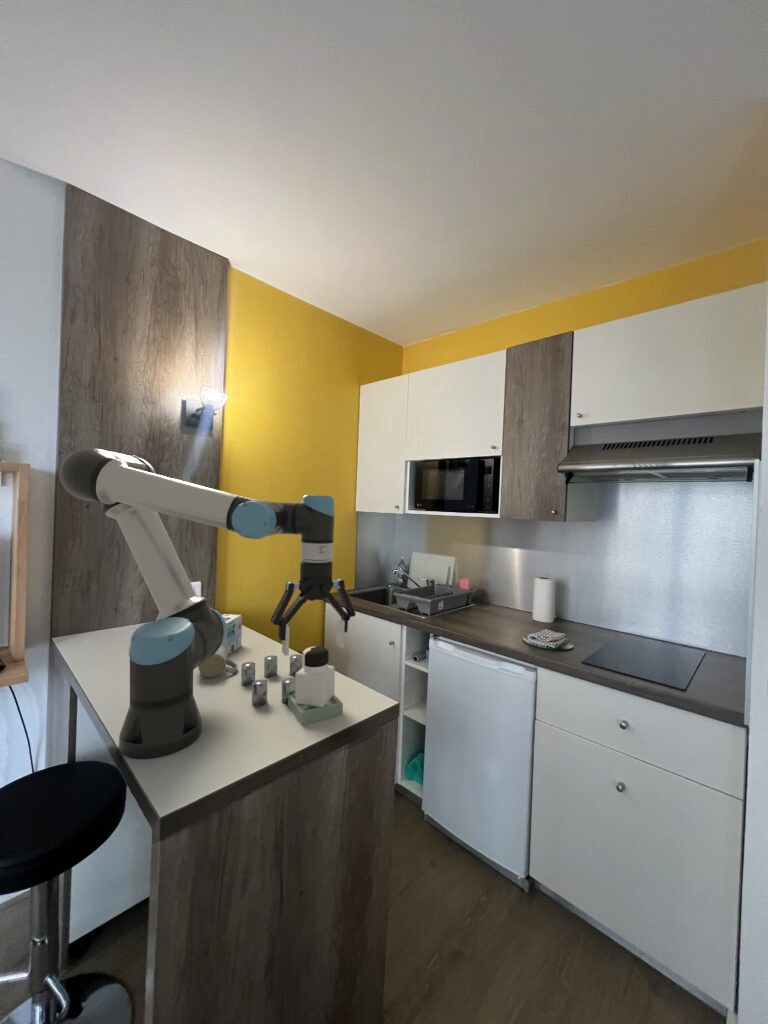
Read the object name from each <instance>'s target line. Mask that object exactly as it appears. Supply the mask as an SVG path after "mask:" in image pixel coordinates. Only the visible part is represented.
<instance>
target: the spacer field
mask: <svg viewBox="0 0 768 1024" xmlns="http://www.w3.org/2000/svg"><path fill="white" fill-rule="evenodd" d="M263 658H264V665H263V674H264V675H263V676H264V677H265V678H267V677H272V678H275V677H277V676H278V656H277V655H267V656H264V657H263ZM302 668H303V654H300V653H298V654H297V653H296V654H291V655H290V656H289V675H290V676H291V675H293V676H292V677H287V678H283V679H282V680H281V704H283V705H288V695H292V694H295V674H296V673H297V672H298V671H299V670H301V669H302ZM240 674H241V675H240V678H241V683H240V684H241V685H242V686H251V705H252V706H254V707H261V706H264V705H266V704H267V703H268V680H267V679H256V662H254V661H247V662H243V663H242V664H241V673H240ZM276 675H277V676H276ZM274 676H275V677H274Z"/></svg>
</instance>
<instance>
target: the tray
mask: <svg viewBox="0 0 768 1024" xmlns="http://www.w3.org/2000/svg"><path fill="white" fill-rule="evenodd" d="M287 706H288V708H289V710H290V711H291V713H292V714H293V715H294V717H295V718H296V720H297V721H298V723H299V724H300V725H302V726H303V725H306V724H311V723H314V722H319V721H322V720H325V719H330V718H334V717H338V716H342V715H344V713H343V711H344V710H343V709H344V703H343V702H342V701H341V700H340V698H338V697H337V696H336V694H334V695H333V696H332V698H331V699H330V700H329V701H328V702H327V703H326V704H325V705H324V707H316V706H309V705H303V704H296V703H295V694H292V695H288V704H287Z"/></svg>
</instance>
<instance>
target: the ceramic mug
mask: <svg viewBox="0 0 768 1024" xmlns="http://www.w3.org/2000/svg"><path fill="white" fill-rule="evenodd" d="M197 668H198V671H199V673H200V674H201V675H202V676H203V677H204V678H208V679H213V678H217V677H219V676H220V675H221V674H222V673H227V674H235V673H237V670H238V669H239V664H237V663H236V662H234V661H233V660H231V659H229V658H228V655H227V652H226V650H225V648H224V647H223V646H222V645H221V647H220V648H219V649H218V650H217V652H216V653H215V654H214V655H213V656H211V657H210V658H208V659H206V660H205V661H204V662H203V663H201V664H200V665H199V666H198V667H197Z"/></svg>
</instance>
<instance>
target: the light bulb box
mask: <svg viewBox="0 0 768 1024" xmlns="http://www.w3.org/2000/svg"><path fill="white" fill-rule="evenodd" d="M221 615H222V616H223V618H224V620H225V623H226V637H225V640H224V642H223V644H222V646H223V647H224V648H225V650H226V652H227V656H229V655H230V654H232V653H233V652H234V651H235V650H237V649H238V648H240V647H242V637H243V636H242V631H243V630H242V625H243V615H242V614H232V613H231V614H228V613H224V614H221Z"/></svg>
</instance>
